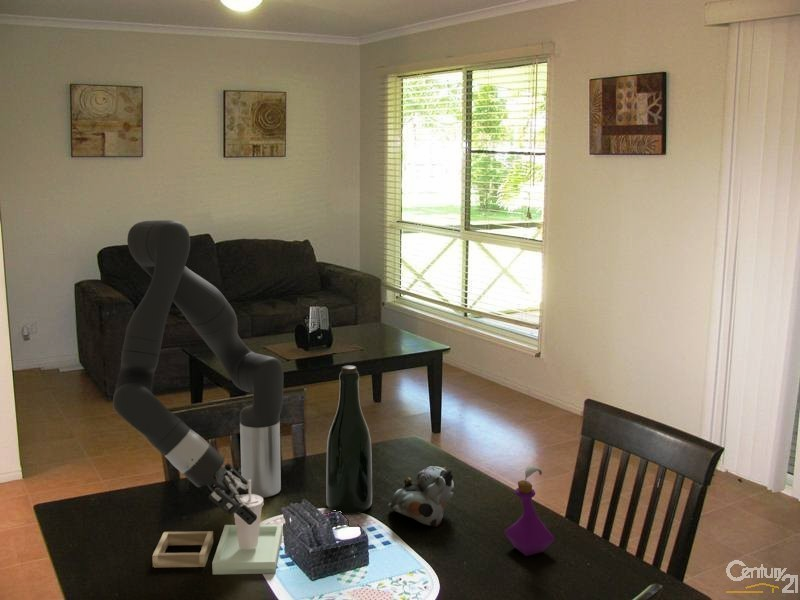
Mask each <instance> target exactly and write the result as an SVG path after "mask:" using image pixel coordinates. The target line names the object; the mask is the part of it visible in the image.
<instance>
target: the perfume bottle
mask: <svg viewBox="0 0 800 600" xmlns="http://www.w3.org/2000/svg"><path fill="white" fill-rule="evenodd" d="M536 472H538V473H539V476H542V474H543V471H542V469H540V468H539V467H538V466H535V465H533V464H530V465H528V466H527V467H526V468H525V471H524V474H525V475H524V476H525V477H524V479H525V480H518V481H517V488H516V489H515V491H514V493H515V495H516V496H517V497H519V498H520V500H521V501H522V505H523V506H522V507H523V512H522V514H521V517H520V518H518V519H517V521H515V522H514V523H512V524H511V525H510V526H509V527H507V528H506V529H505V530H504V532H503V533H504V534H505V536H506V538H508V540H509V541H510V543H511V544H512V546H513V547H514V548H515V549H516V550H518V551H519V552H520V553H522V554H523V555H524V556H525V557H528V556H531V555H537V554H540V553H543V552H544V551H545V550H546V549H547V548H548V547H549V546H550V545H551V544H552V543H553V542H554V541H555V540H556V539H555V536H554V535H553V534H552V533H551V532H550V530H549V529H548V528H547V526H546V525H545V524H544V523H543V521H542V520H541V519H540V518H539V515H538V514H537V512H536V510H535V507H534V504H533V500H532V499H533V498H534V497H535V496H536V491H535V489H533V485H532V483H531V481H528V480H527V478H530V477H531V476H532V475H533V474H534V473H536Z"/></svg>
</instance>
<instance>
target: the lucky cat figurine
mask: <svg viewBox="0 0 800 600" xmlns="http://www.w3.org/2000/svg"><path fill="white" fill-rule="evenodd" d="M452 472H453V469H448V470H447V467H446V466H444V467H440V466H431V465H430V466H427V467H426V468H424V469H422V470H420V471H419V472H418V473H417V474H416V478H415V479H416V481H415V482H414V483H413V482H412V479H411V478H410V477H409V476H407V477H406V478H405V479H404V481H403V482H404V486H403V487H402V488H399V489H397V490H396V491H395V492H394V494H393V495H392V498H391V501H390V502H389V503H388V504H387V507H389V508H391V509H392V511H394V512H396V513H398V514H399V515H403V516H406V517H408V518H412V519H414V521H416V522H418V523H421V524H423V525H426V526H429V527H430V526H432V527H433V528H437V527H438V526H439V525H440V524H441V523H442V519H443V517H444V509H445V507H446V504H447V503H448V502H449V501H450V499H451V498H452V497H453V495H454V490H453V489H454V487H455V485H454V483H455V482H454V480H453V473H452Z"/></svg>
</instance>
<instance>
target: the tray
mask: <svg viewBox="0 0 800 600" xmlns="http://www.w3.org/2000/svg"><path fill="white" fill-rule="evenodd" d="M282 533H283V524H260V527H259V535H258V544H257V547H255V548H253V549H249V550H244V549H241V548H240V547H239V544H238V537H237V531H236V524H224V527H223V531H222V533H221V536H220V538H219V542H218V545H217V547H216V551H215V554H214V557H213V560H212V563H211V564H212V568H211V569H212V570H211V572H212V575H259V574H260V575H262V574H264V573H273V574H277V573H276V572H277V567H278V561H279V556H280V550H281V545H282V540H283V535H282Z"/></svg>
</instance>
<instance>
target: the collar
mask: <svg viewBox="0 0 800 600" xmlns="http://www.w3.org/2000/svg"><path fill="white" fill-rule="evenodd" d="M213 545H214V531H213V530H212V531H209V530H208V531H207V530H206V531H199V530H198V531H164V532H163V533H162V535H161V537H160V539H159V541H158V544H157V546H156V548H155V550H154V551H153V554H152V568H153V567H154V568H199V567H200V568H205V567H206V564H207V562H208V560H209V559H208V558H209V556H210V553H211V549H212V548H213ZM169 546H201V550H200V552H166V551H167V549H168V547H169Z"/></svg>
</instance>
